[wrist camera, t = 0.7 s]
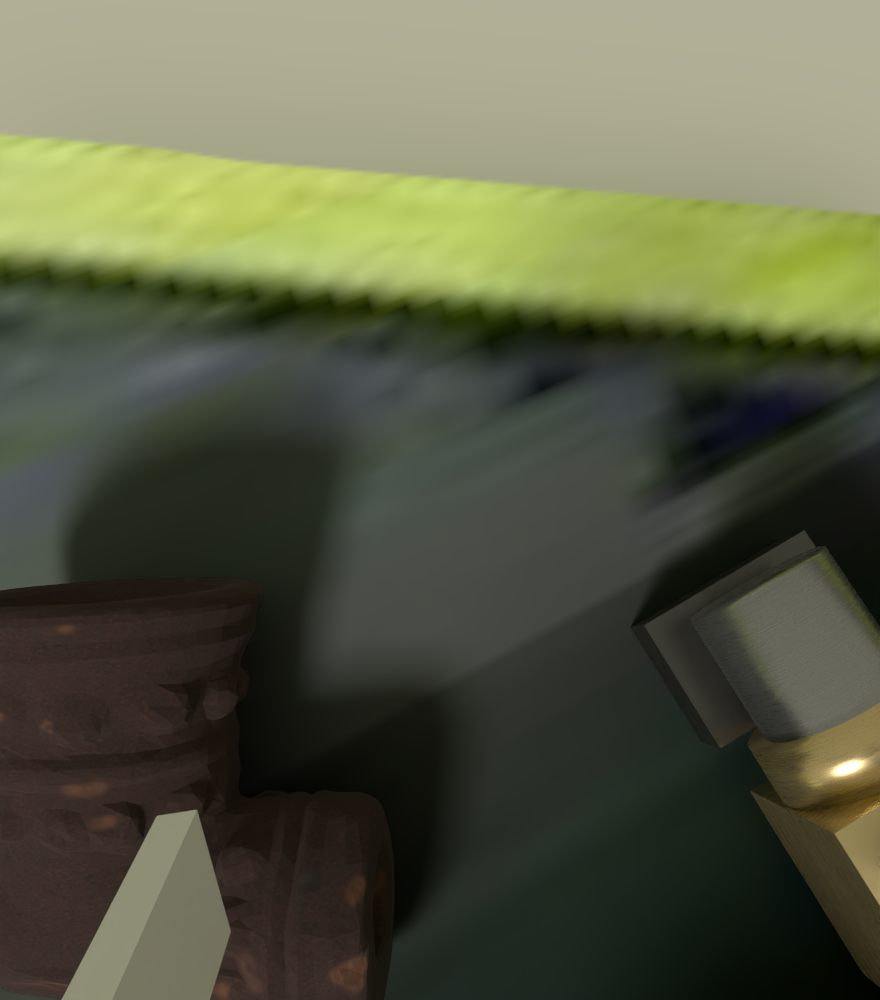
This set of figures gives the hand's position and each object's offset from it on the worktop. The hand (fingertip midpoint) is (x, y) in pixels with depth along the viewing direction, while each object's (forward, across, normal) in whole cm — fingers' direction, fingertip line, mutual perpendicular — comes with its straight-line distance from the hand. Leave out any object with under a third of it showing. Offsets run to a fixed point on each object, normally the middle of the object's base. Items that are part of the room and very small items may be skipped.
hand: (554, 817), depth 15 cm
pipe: (+16, +13, +7) cm, 21 cm away
